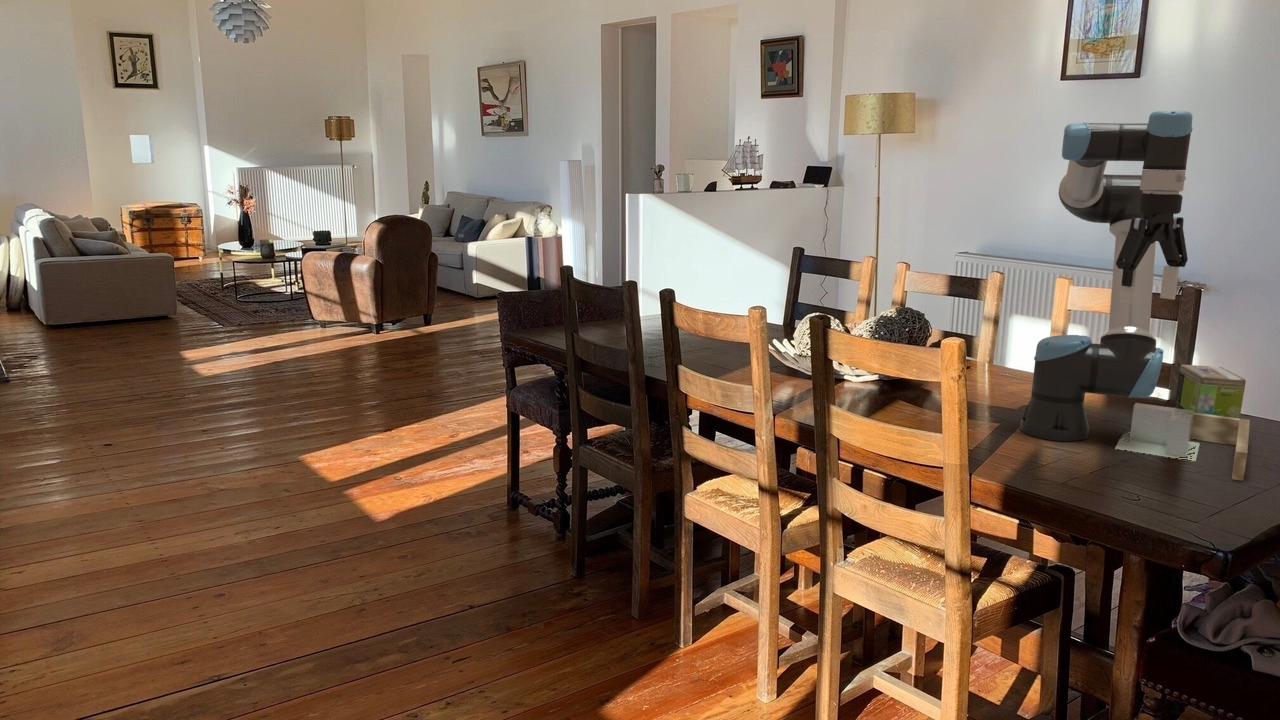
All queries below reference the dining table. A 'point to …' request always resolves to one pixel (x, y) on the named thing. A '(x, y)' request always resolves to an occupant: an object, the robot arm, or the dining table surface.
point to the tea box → (1210, 391)
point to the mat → (1154, 448)
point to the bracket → (1162, 427)
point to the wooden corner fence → (1224, 436)
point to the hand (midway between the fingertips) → (1147, 300)
